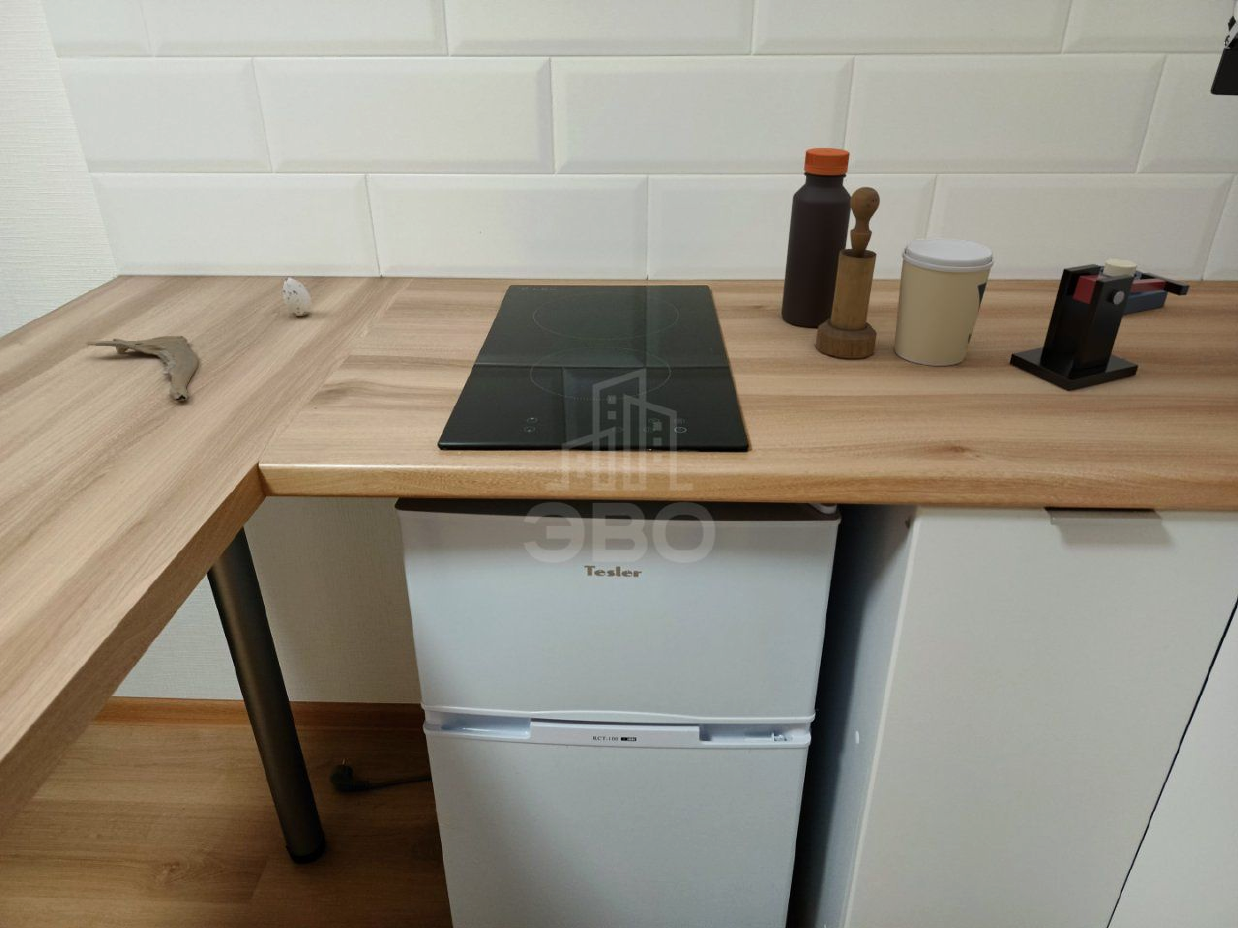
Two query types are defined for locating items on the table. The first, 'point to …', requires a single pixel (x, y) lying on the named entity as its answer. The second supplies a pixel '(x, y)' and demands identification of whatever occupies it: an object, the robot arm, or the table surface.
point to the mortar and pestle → (853, 288)
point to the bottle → (816, 238)
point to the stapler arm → (1144, 284)
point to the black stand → (1082, 334)
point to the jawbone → (164, 358)
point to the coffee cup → (940, 299)
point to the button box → (1142, 297)
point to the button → (1119, 267)
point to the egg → (296, 297)
